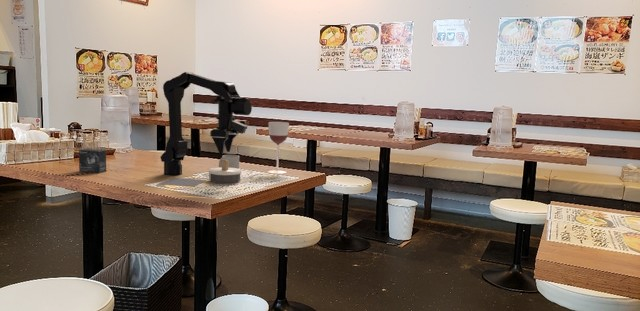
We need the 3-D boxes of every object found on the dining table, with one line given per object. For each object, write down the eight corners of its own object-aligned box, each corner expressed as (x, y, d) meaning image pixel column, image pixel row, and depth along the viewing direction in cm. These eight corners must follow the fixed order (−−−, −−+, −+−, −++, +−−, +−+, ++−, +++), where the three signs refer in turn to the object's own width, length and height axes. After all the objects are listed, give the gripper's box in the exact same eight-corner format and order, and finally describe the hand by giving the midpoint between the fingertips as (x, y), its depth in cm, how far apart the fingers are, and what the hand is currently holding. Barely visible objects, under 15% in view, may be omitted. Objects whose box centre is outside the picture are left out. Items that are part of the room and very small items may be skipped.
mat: (158, 185, 185) (158, 184, 185) (173, 179, 199) (173, 177, 199) (194, 188, 183) (194, 186, 183) (207, 181, 197) (207, 180, 197)
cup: (231, 178, 206) (232, 157, 205) (213, 175, 211) (213, 155, 210) (242, 176, 212) (242, 156, 211) (224, 173, 217) (224, 153, 216)
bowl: (205, 183, 192) (205, 173, 192) (215, 178, 204) (215, 169, 203) (234, 185, 191) (235, 175, 190) (243, 180, 203) (243, 171, 202)
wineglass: (263, 172, 224) (264, 122, 221) (273, 169, 234) (275, 121, 231) (281, 174, 221) (282, 123, 218) (290, 171, 230) (292, 122, 227)
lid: (203, 174, 191) (203, 161, 191) (214, 168, 204) (214, 157, 203) (236, 176, 190) (236, 163, 189) (244, 170, 203) (245, 158, 202)
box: (78, 172, 206) (78, 149, 205) (86, 170, 211) (86, 148, 210) (99, 173, 204) (98, 151, 203) (106, 171, 210) (106, 149, 209)
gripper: (238, 116, 184) (238, 157, 186) (251, 114, 202) (250, 151, 204) (210, 114, 185) (209, 155, 187) (225, 112, 203) (224, 150, 205)
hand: (224, 153), depth 196 cm, fingers open, 9 cm apart
